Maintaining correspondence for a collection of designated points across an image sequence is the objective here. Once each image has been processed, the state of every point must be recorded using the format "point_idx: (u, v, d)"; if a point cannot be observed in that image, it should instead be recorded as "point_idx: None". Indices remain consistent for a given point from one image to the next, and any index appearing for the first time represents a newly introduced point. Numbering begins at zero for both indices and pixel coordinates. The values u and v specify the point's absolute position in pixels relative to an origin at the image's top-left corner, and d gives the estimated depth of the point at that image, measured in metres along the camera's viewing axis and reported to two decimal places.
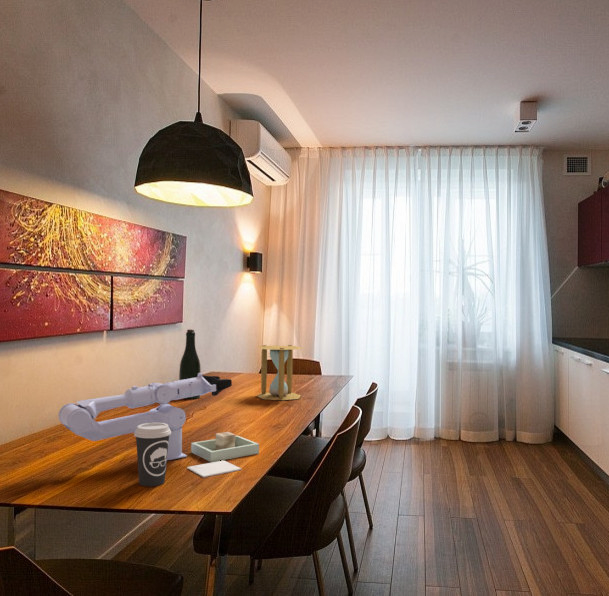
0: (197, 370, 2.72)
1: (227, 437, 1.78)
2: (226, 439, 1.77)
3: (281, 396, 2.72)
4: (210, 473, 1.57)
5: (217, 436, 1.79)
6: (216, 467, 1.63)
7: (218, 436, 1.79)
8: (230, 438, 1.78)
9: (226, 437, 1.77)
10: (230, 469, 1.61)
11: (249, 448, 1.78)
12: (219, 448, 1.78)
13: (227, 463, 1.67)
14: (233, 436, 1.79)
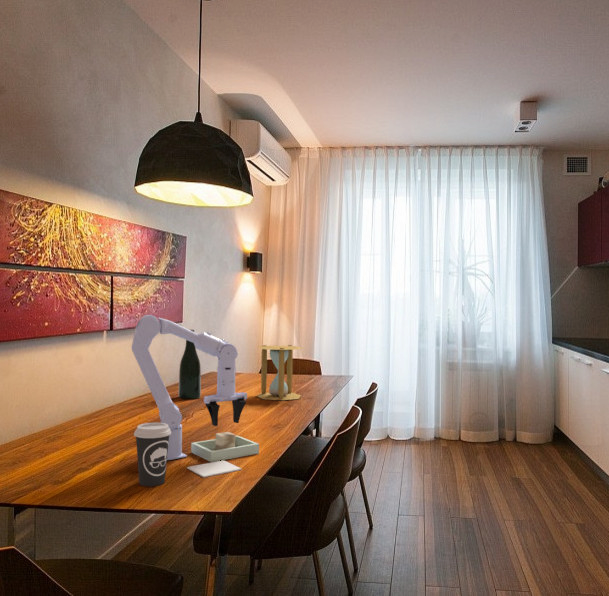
0: (197, 370, 2.72)
1: (227, 437, 1.78)
2: (226, 439, 1.77)
3: (281, 396, 2.72)
4: (210, 473, 1.57)
5: (217, 436, 1.79)
6: (216, 467, 1.63)
7: (218, 436, 1.79)
8: (230, 438, 1.78)
9: (226, 437, 1.77)
10: (230, 469, 1.61)
11: (249, 448, 1.78)
12: (219, 448, 1.78)
13: (227, 463, 1.67)
14: (233, 436, 1.79)
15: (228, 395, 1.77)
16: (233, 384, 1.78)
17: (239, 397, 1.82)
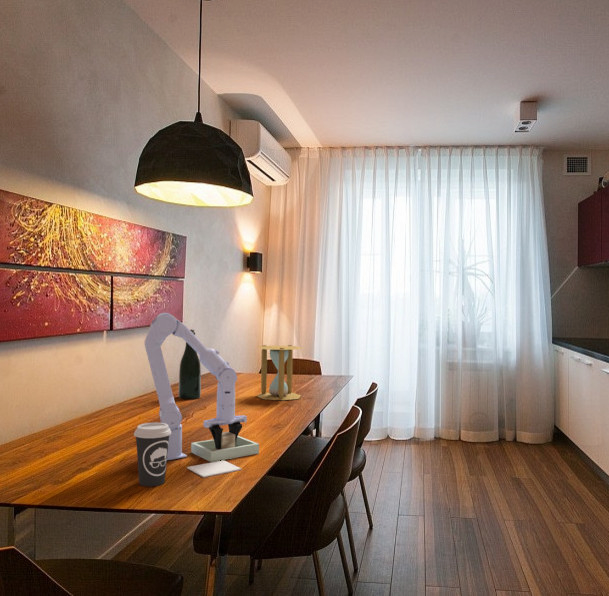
0: (197, 370, 2.72)
1: (227, 437, 1.78)
2: (226, 439, 1.77)
3: (281, 396, 2.72)
4: (210, 473, 1.57)
5: None
6: (216, 467, 1.63)
7: None
8: (230, 438, 1.78)
9: (226, 437, 1.77)
10: (230, 469, 1.61)
11: (249, 448, 1.78)
12: None
13: (227, 463, 1.67)
14: (233, 436, 1.79)
15: (228, 419, 1.77)
16: (233, 408, 1.78)
17: (239, 420, 1.82)
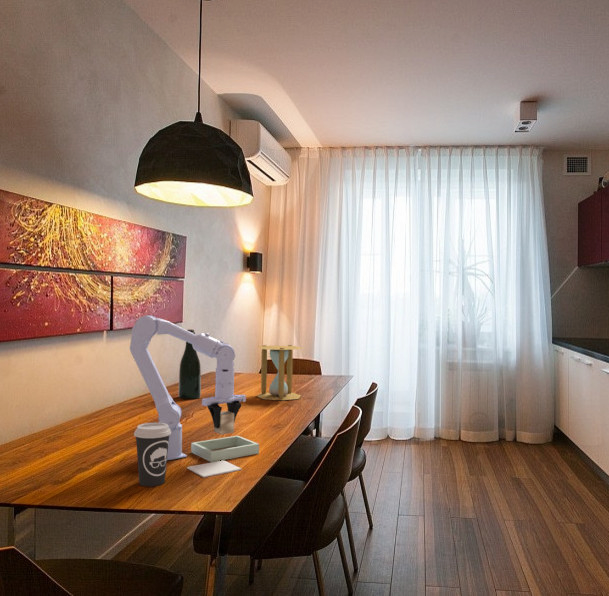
0: (197, 370, 2.72)
1: (226, 416, 1.75)
2: (225, 418, 1.75)
3: (281, 396, 2.72)
4: (210, 473, 1.57)
5: None
6: (216, 467, 1.63)
7: None
8: (229, 417, 1.76)
9: (225, 416, 1.75)
10: (230, 469, 1.61)
11: (249, 448, 1.78)
12: None
13: (227, 463, 1.67)
14: (232, 415, 1.76)
15: (227, 397, 1.75)
16: (232, 386, 1.76)
17: (238, 399, 1.80)
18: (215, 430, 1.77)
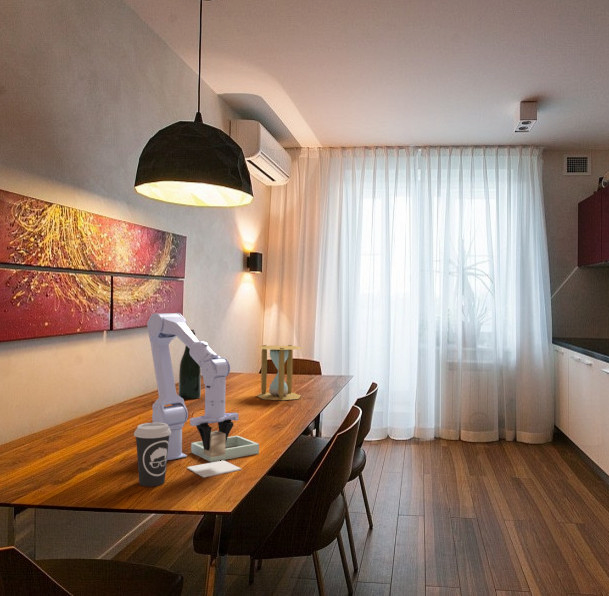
0: (197, 370, 2.72)
1: (216, 436, 1.61)
2: (216, 439, 1.60)
3: (281, 396, 2.72)
4: (210, 473, 1.57)
5: None
6: (216, 467, 1.63)
7: None
8: (220, 437, 1.61)
9: (215, 436, 1.60)
10: (230, 469, 1.61)
11: (249, 448, 1.78)
12: None
13: (227, 463, 1.67)
14: (223, 435, 1.62)
15: (217, 416, 1.60)
16: (223, 404, 1.61)
17: (229, 418, 1.65)
18: (205, 452, 1.62)
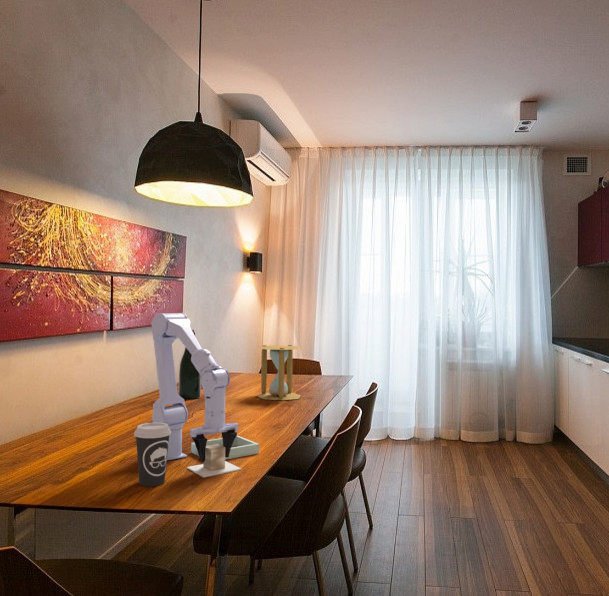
0: None
1: (216, 450, 1.61)
2: (215, 453, 1.60)
3: (281, 396, 2.72)
4: (210, 473, 1.57)
5: None
6: None
7: (206, 449, 1.62)
8: (220, 451, 1.61)
9: (215, 450, 1.60)
10: (230, 469, 1.61)
11: (249, 448, 1.78)
12: (207, 462, 1.61)
13: (227, 463, 1.67)
14: (223, 449, 1.62)
15: (217, 427, 1.60)
16: (222, 415, 1.61)
17: (229, 428, 1.65)
18: (204, 466, 1.62)
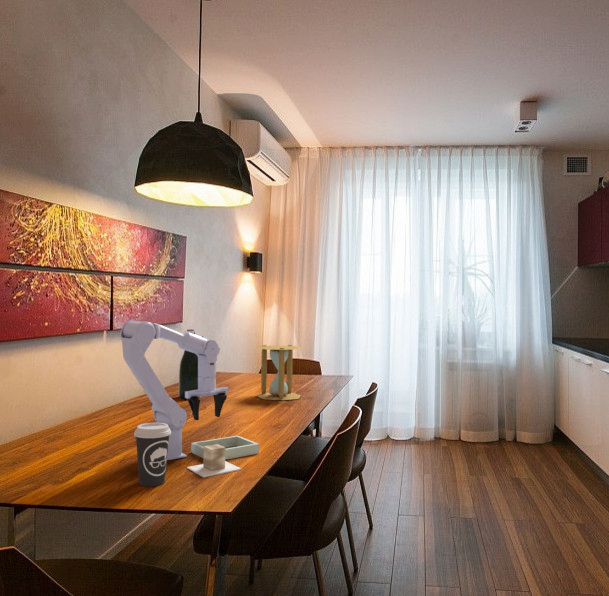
0: (197, 370, 2.72)
1: (216, 450, 1.61)
2: (215, 453, 1.60)
3: (281, 396, 2.72)
4: (210, 473, 1.57)
5: (205, 449, 1.62)
6: None
7: (206, 449, 1.62)
8: (220, 451, 1.61)
9: (215, 450, 1.60)
10: (230, 469, 1.61)
11: (249, 448, 1.78)
12: (207, 462, 1.61)
13: (227, 463, 1.67)
14: (223, 449, 1.62)
15: (208, 390, 1.82)
16: (213, 379, 1.83)
17: (220, 392, 1.87)
18: (204, 466, 1.62)
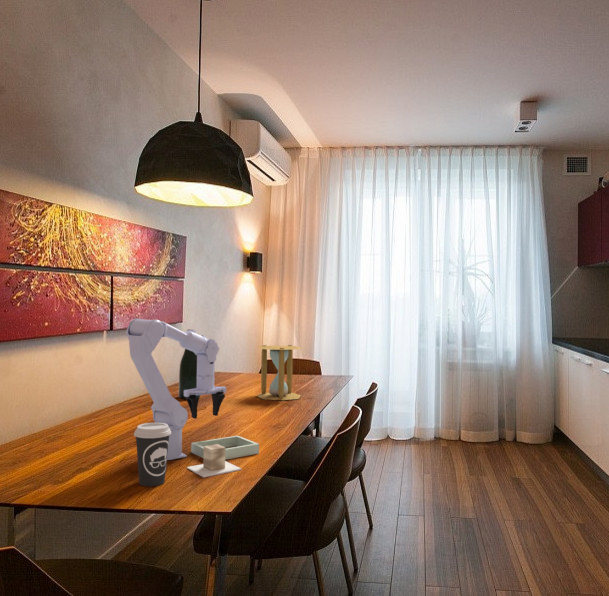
0: None
1: (216, 450, 1.61)
2: (215, 453, 1.60)
3: (281, 396, 2.72)
4: (210, 473, 1.57)
5: (205, 449, 1.62)
6: None
7: (206, 449, 1.62)
8: (220, 451, 1.61)
9: (215, 450, 1.60)
10: (230, 469, 1.61)
11: (249, 448, 1.78)
12: (207, 462, 1.61)
13: (227, 463, 1.67)
14: (223, 449, 1.62)
15: (207, 389, 1.84)
16: (212, 378, 1.85)
17: (218, 391, 1.89)
18: (204, 466, 1.62)
